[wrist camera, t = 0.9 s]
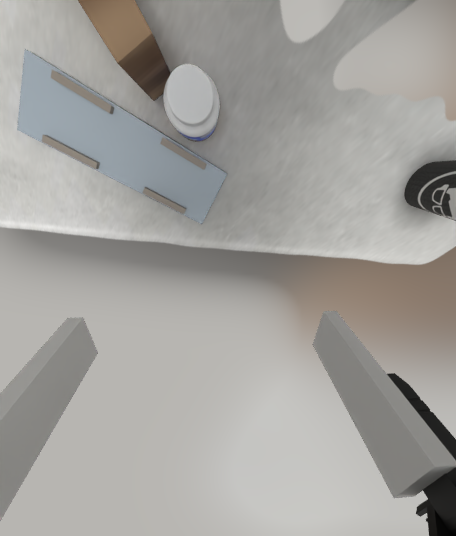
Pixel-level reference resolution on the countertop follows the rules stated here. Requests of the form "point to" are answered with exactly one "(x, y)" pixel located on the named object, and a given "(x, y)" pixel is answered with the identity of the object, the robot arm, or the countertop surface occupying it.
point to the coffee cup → (434, 188)
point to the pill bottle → (191, 102)
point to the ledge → (113, 140)
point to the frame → (130, 42)
